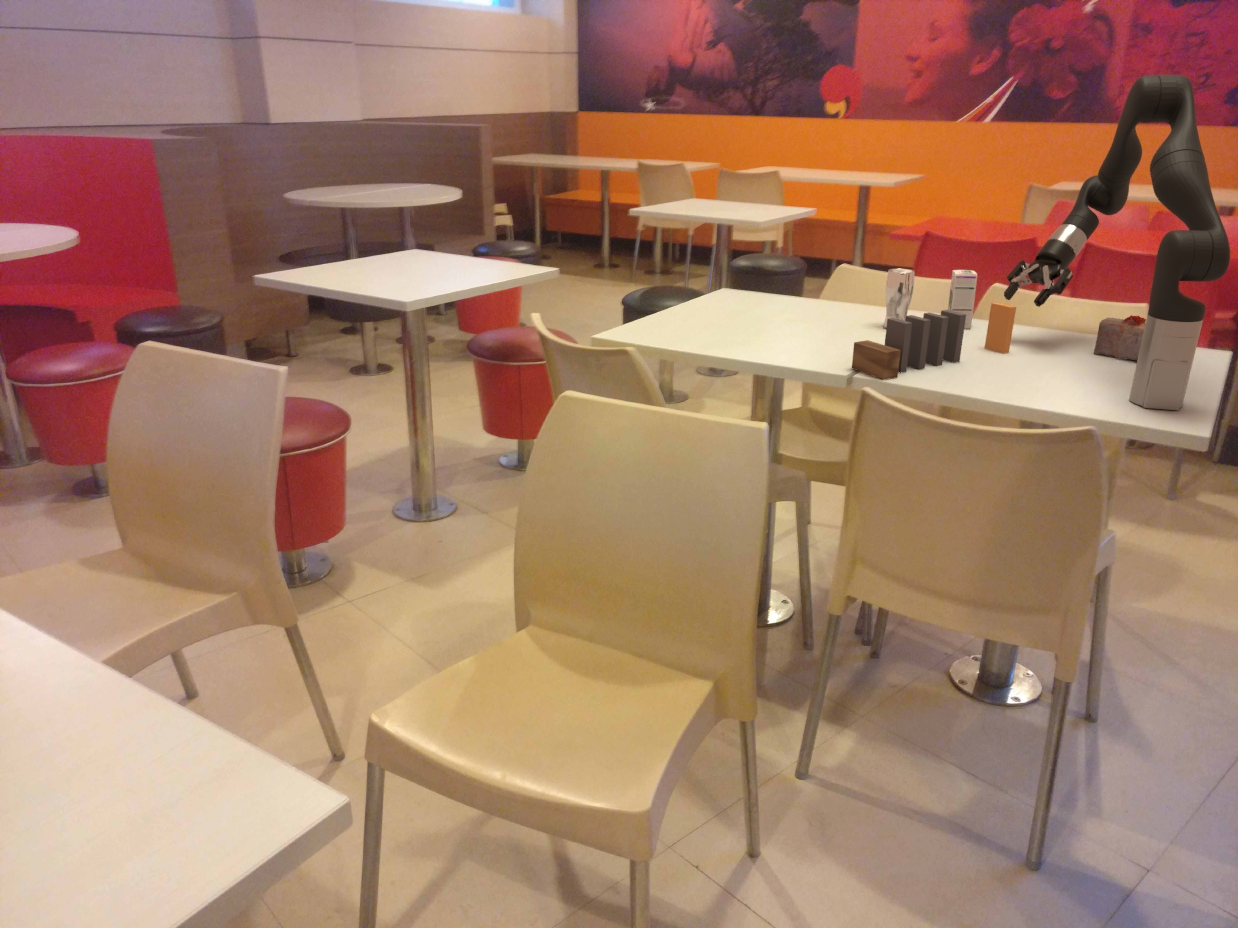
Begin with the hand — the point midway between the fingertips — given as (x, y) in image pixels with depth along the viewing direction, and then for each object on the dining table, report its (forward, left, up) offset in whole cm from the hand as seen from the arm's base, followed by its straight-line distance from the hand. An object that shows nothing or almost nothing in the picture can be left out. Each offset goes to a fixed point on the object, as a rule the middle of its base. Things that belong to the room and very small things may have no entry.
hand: (1021, 301), depth 213 cm
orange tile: (-4, +4, -11) cm, 13 cm away
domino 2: (-24, +24, -11) cm, 35 cm away
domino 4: (-16, +16, -11) cm, 25 cm away
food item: (-3, -24, -12) cm, 27 cm away
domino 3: (-20, +20, -11) cm, 30 cm away
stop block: (-32, +32, -11) cm, 46 cm away
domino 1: (-27, +28, -11) cm, 41 cm away
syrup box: (+19, +12, -12) cm, 25 cm away
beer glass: (+13, +28, -11) cm, 33 cm away
